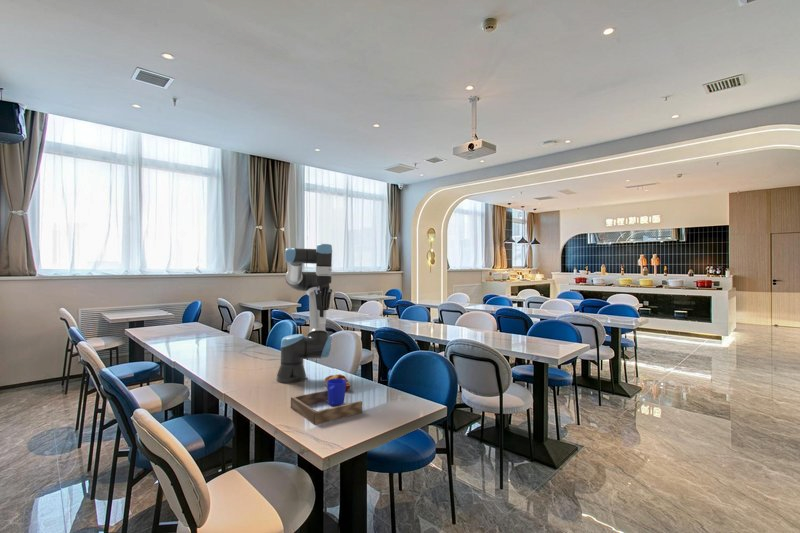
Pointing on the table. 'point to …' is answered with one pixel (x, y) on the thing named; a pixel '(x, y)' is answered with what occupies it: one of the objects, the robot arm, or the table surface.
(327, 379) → the croissant
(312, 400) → the box
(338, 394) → the mug
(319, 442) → the table surface
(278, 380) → the robot arm
